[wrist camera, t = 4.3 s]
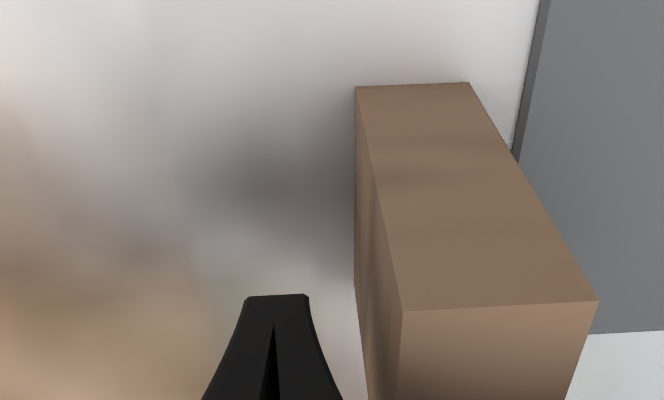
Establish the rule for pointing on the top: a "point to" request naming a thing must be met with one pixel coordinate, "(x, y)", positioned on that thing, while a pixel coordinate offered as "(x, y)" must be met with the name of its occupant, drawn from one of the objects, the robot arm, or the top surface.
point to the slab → (457, 256)
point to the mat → (601, 148)
